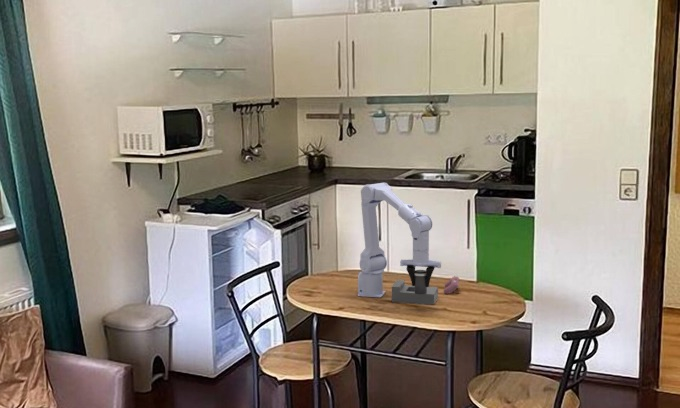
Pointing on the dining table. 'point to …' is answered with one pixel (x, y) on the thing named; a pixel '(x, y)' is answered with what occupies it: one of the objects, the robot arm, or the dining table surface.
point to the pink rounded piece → (451, 285)
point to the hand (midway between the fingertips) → (420, 285)
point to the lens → (420, 282)
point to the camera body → (412, 294)
